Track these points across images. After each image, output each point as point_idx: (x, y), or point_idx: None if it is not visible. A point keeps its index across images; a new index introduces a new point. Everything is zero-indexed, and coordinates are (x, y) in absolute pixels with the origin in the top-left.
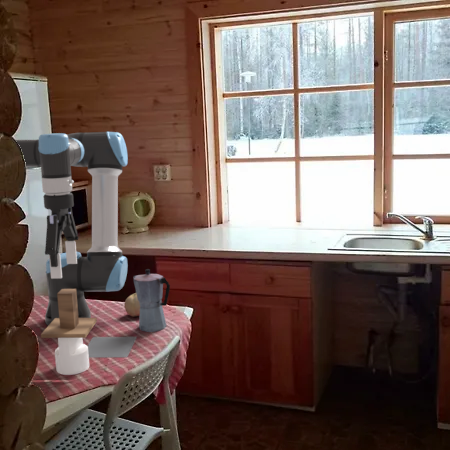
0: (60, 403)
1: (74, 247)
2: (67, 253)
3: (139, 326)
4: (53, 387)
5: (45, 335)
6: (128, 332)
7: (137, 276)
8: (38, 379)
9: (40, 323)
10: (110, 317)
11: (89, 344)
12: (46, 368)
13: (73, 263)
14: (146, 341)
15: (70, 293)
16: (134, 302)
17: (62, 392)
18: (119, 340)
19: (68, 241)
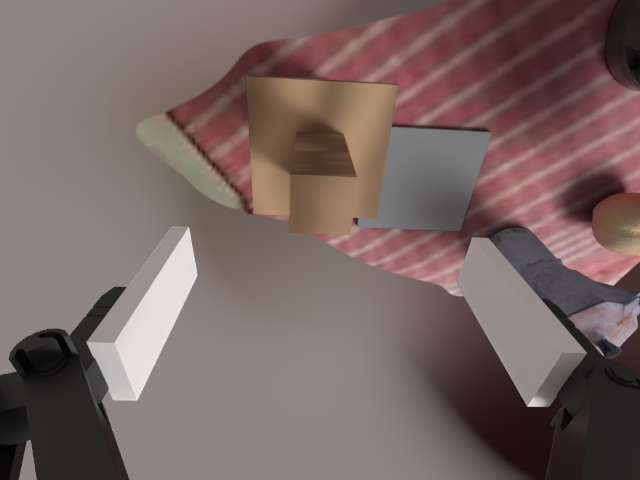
0: (161, 134)
1: (503, 359)
2: (500, 287)
3: (512, 231)
4: (227, 98)
5: (247, 93)
6: (501, 206)
7: (622, 309)
8: (265, 44)
9: None
10: (628, 147)
11: (444, 133)
12: (326, 47)
13: (462, 271)
14: (437, 247)
15: (290, 227)
16: (616, 230)
17: (207, 126)
18: (449, 198)
19: (548, 373)
